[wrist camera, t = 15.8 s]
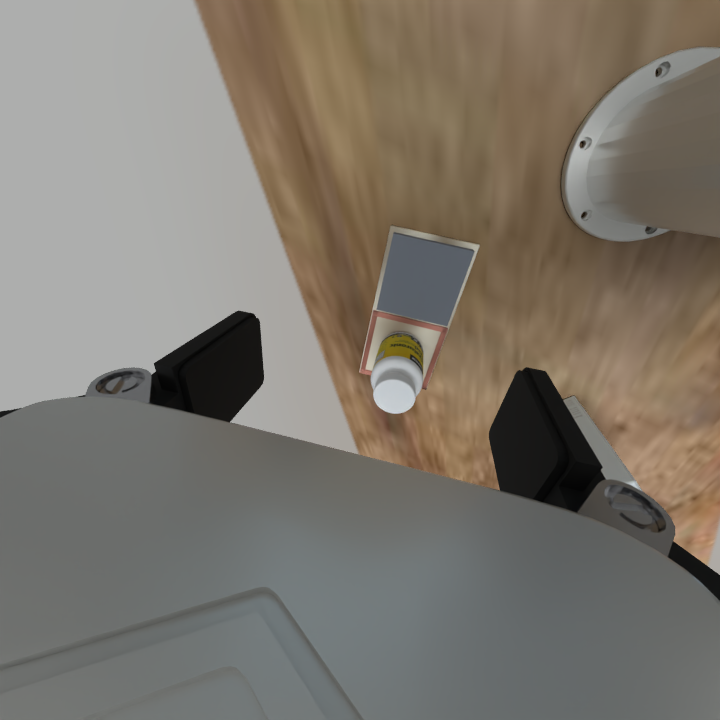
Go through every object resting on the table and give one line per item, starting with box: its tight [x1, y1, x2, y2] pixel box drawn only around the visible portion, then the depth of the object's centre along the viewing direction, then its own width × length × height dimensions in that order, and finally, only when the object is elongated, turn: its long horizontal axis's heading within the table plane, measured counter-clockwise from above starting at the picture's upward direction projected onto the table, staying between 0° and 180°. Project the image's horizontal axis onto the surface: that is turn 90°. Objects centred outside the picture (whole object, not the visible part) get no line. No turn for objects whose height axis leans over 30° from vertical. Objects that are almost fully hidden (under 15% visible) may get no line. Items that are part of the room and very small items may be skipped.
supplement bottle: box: [371, 332, 424, 414], centre depth 32 cm, size 5×5×10 cm
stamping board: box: [359, 225, 480, 390], centre depth 34 cm, size 9×18×1 cm, turn 169°
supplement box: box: [563, 396, 642, 491], centre depth 33 cm, size 7×7×13 cm
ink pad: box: [377, 232, 475, 326], centre depth 31 cm, size 8×8×1 cm
